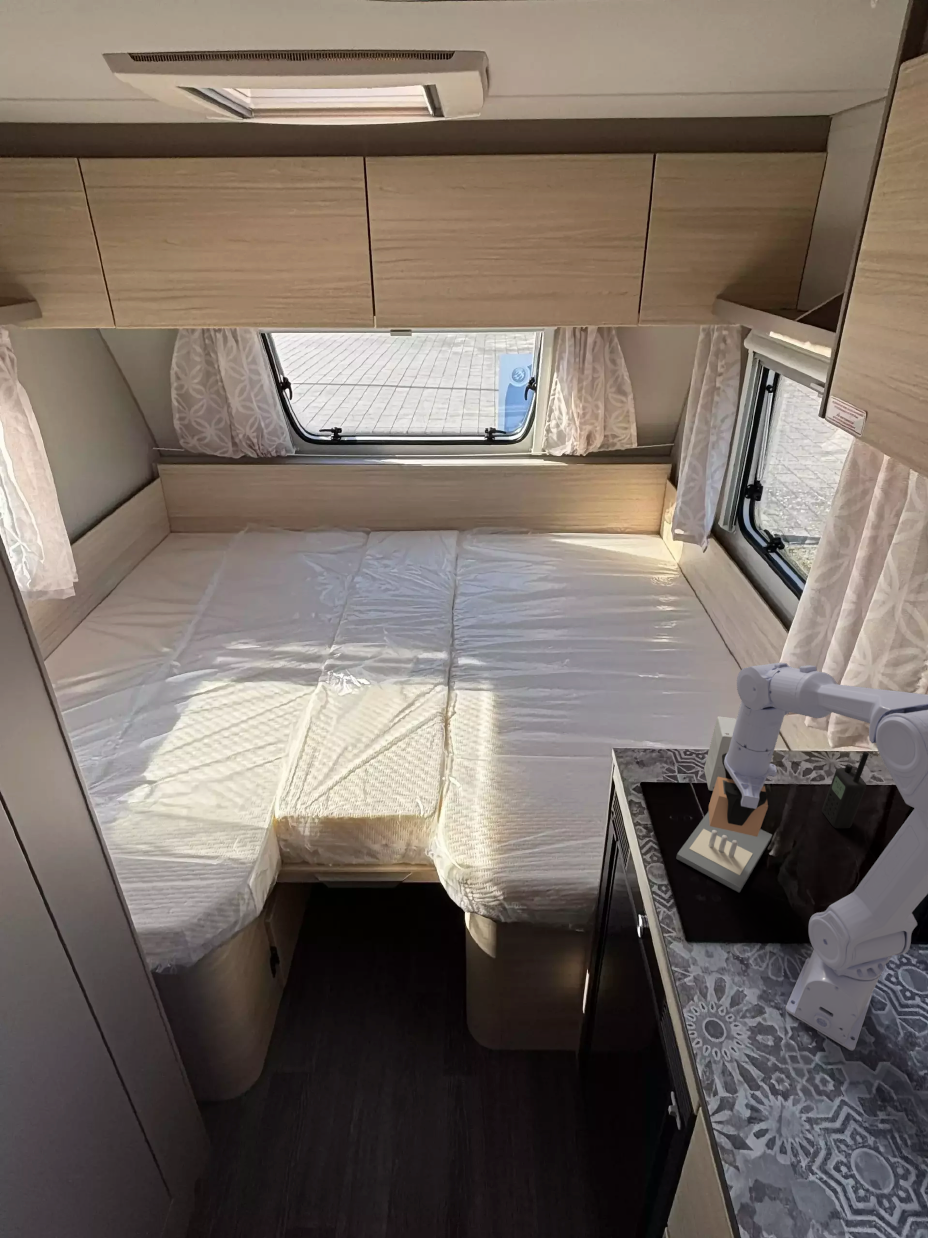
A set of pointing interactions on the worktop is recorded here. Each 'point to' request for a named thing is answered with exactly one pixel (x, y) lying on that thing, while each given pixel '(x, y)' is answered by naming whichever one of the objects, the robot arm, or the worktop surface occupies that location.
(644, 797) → the worktop surface
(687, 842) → the board
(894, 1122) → the worktop surface
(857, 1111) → the worktop surface
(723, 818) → the plug housing
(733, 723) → the skincare box
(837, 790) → the walkie-talkie
